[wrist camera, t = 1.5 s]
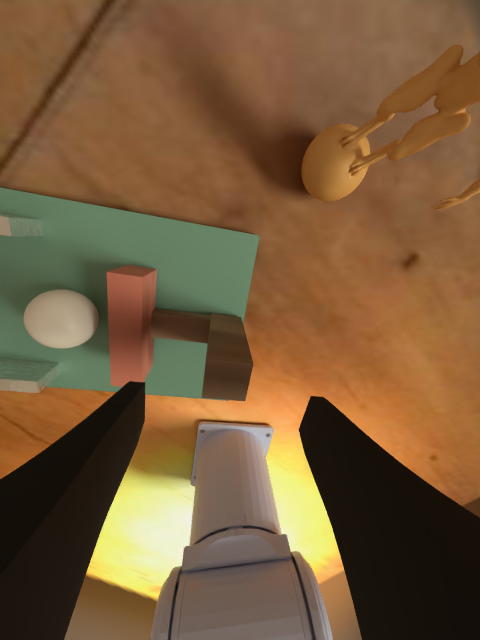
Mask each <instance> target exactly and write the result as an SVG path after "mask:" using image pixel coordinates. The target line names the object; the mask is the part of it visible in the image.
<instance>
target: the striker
mask: <svg viewBox="0 0 480 640" xmlns="http://www.w3.org/2000/svg"><path fill="white" fill-rule="evenodd" d="M156 279H157V269H152V268H146V267H139V266H133V265H126V266H123V267H120V268H117V269H114V270H111V271H108V272H107V295H108V322H109V348H110V375H111V386H120V387H123V386H124V385H125V384H126V383H128V382H129V381H134V382H144V381H145V379H146V377H147V375H148V373H149V371H150V369H151V367H152V365H153V354H154V338H163V339H172V340H181V341H190V342H199V343H208V344H207V353H206V362H205V371H204V380H203V389H202V398H211V399H224V400H237V401H245V399H246V395H247V390H248V386H249V381H250V377H251V372H252V367H253V361H252V357H251V353H250V350H249V346H248V342H247V338H246V334H245V330H244V326H243V322H242V318H241V317H237V316H230V315H222V314H214V313H211V315H204V314H196V313H188V312H181V311H173V310H165V309H158V308H155V304H156Z"/></svg>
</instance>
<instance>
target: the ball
mask: <svg viewBox="0 0 480 640" xmlns="http://www.w3.org/2000/svg"><path fill="white" fill-rule="evenodd" d="M23 320H24V325H25V328H26V330H27V332H28V334H29V335H30V336H31V337H32V338H33V339H34V340H36V341H37V342H39V343H40V344H43V345H45V346H48V347H51V348H60V349H62V348H71V347H75V346H78V345H80V344H83V343H84V342H86V341H87V340H89V339H90V338H91V337H92V336H93V335H94V333H95V332H96V330H97V328H98V325H99V313H98V310H97V308H96V306H95V305H94V303H93V302H92V301H91V300H90V299H89V298H87V297H86V296H84V295H83V294H81V293H78V292H75V291H72V290H65V289H58V290H51V291H47V292H44V293H42V294H40V295H38V296H37V297H35V298H34V299H33V300H32V301H31V302H30V303H29V304H28V306H27V307H26V310H25V312H24V319H23Z"/></svg>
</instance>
